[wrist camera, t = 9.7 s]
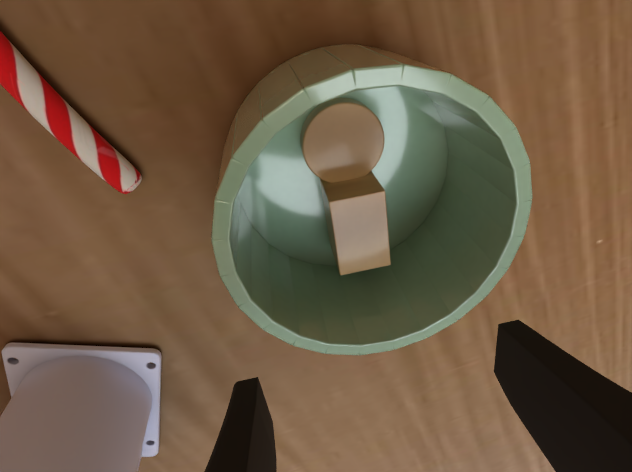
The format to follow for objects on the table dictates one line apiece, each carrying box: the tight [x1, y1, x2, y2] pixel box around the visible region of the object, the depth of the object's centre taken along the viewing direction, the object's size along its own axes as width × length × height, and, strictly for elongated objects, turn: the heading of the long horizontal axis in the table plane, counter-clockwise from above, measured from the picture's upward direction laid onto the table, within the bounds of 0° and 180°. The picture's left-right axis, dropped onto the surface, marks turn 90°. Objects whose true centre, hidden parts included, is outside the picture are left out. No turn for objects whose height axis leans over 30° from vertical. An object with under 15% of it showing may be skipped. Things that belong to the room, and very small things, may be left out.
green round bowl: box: [211, 44, 532, 355], centre depth 17 cm, size 11×11×6 cm
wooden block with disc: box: [300, 98, 391, 275], centre depth 18 cm, size 7×4×3 cm, turn 9°
